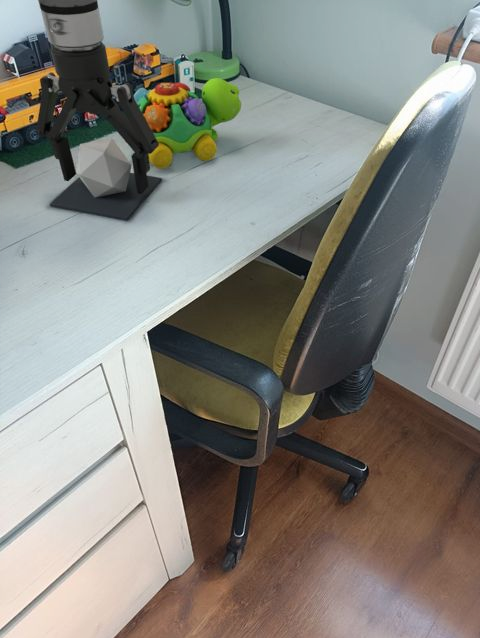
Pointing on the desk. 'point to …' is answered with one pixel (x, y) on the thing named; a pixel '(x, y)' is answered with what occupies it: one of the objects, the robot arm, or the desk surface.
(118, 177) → the die
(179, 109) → the turtle toy
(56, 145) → the robot arm
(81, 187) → the mat
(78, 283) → the desk surface
